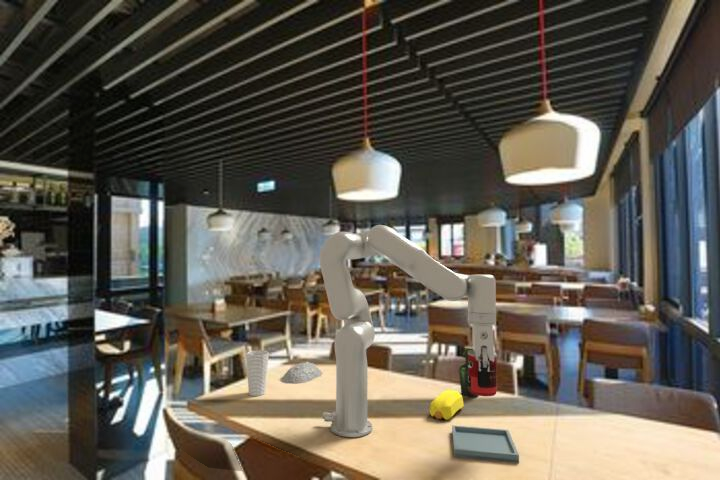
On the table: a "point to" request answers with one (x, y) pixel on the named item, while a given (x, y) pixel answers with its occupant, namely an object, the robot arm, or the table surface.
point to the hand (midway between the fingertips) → (482, 381)
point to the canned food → (473, 376)
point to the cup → (257, 371)
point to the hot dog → (446, 404)
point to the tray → (484, 444)
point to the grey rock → (301, 373)
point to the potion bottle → (465, 375)
